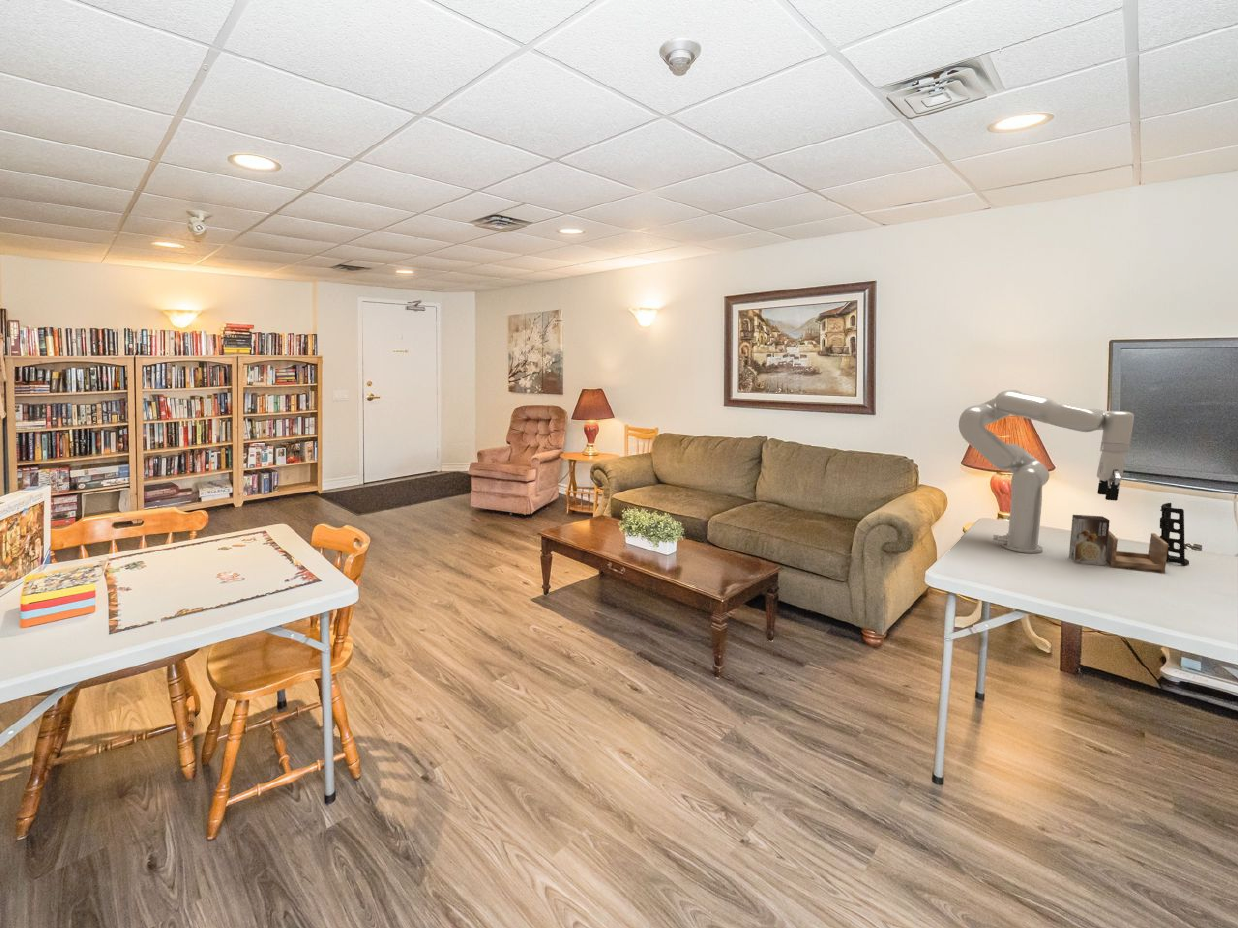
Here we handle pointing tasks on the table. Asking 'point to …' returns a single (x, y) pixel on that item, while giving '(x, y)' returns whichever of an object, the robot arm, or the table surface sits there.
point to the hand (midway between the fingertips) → (1107, 497)
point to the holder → (1168, 527)
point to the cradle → (1138, 556)
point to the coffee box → (1089, 539)
